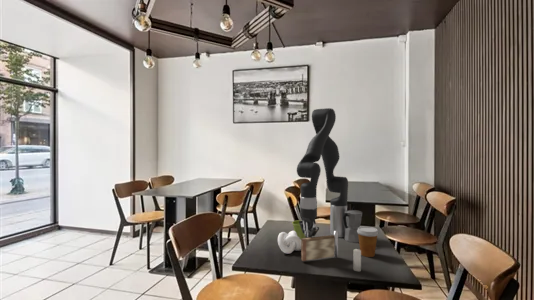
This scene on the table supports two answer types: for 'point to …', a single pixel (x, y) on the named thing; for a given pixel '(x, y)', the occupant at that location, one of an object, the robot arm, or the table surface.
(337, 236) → the translucent grey rod
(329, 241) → the brown flat block
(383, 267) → the table surface
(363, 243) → the disposable coffee cup
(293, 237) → the white decorative knot
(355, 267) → the post
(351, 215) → the coffeepot
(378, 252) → the table surface
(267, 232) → the table surface
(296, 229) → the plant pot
